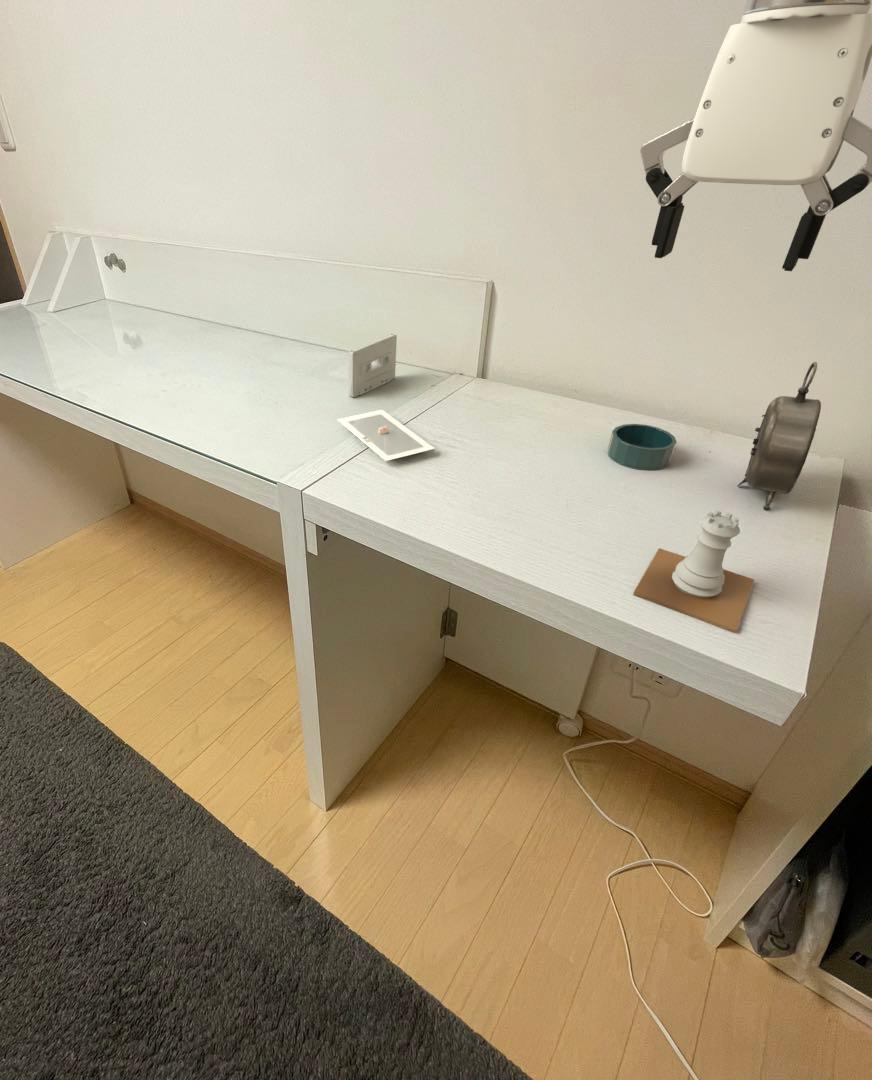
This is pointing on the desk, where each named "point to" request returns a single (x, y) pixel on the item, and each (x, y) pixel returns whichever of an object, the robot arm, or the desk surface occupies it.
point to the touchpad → (385, 435)
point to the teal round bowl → (641, 446)
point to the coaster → (713, 610)
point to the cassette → (369, 375)
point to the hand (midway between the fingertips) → (722, 261)
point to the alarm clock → (783, 442)
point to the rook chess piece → (707, 557)
